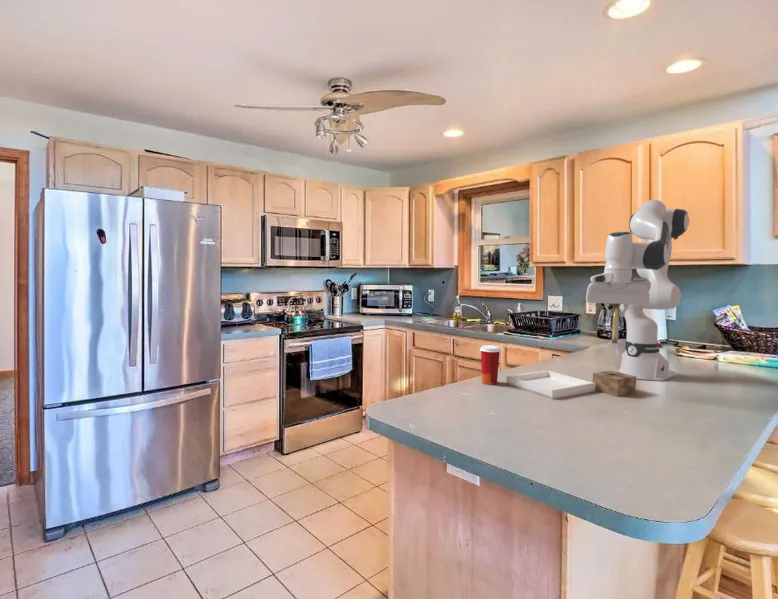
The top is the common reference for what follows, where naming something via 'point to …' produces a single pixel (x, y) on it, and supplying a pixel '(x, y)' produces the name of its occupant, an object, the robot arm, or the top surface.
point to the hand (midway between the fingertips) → (615, 316)
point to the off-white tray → (550, 384)
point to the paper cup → (489, 364)
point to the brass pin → (615, 323)
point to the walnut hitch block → (614, 383)
